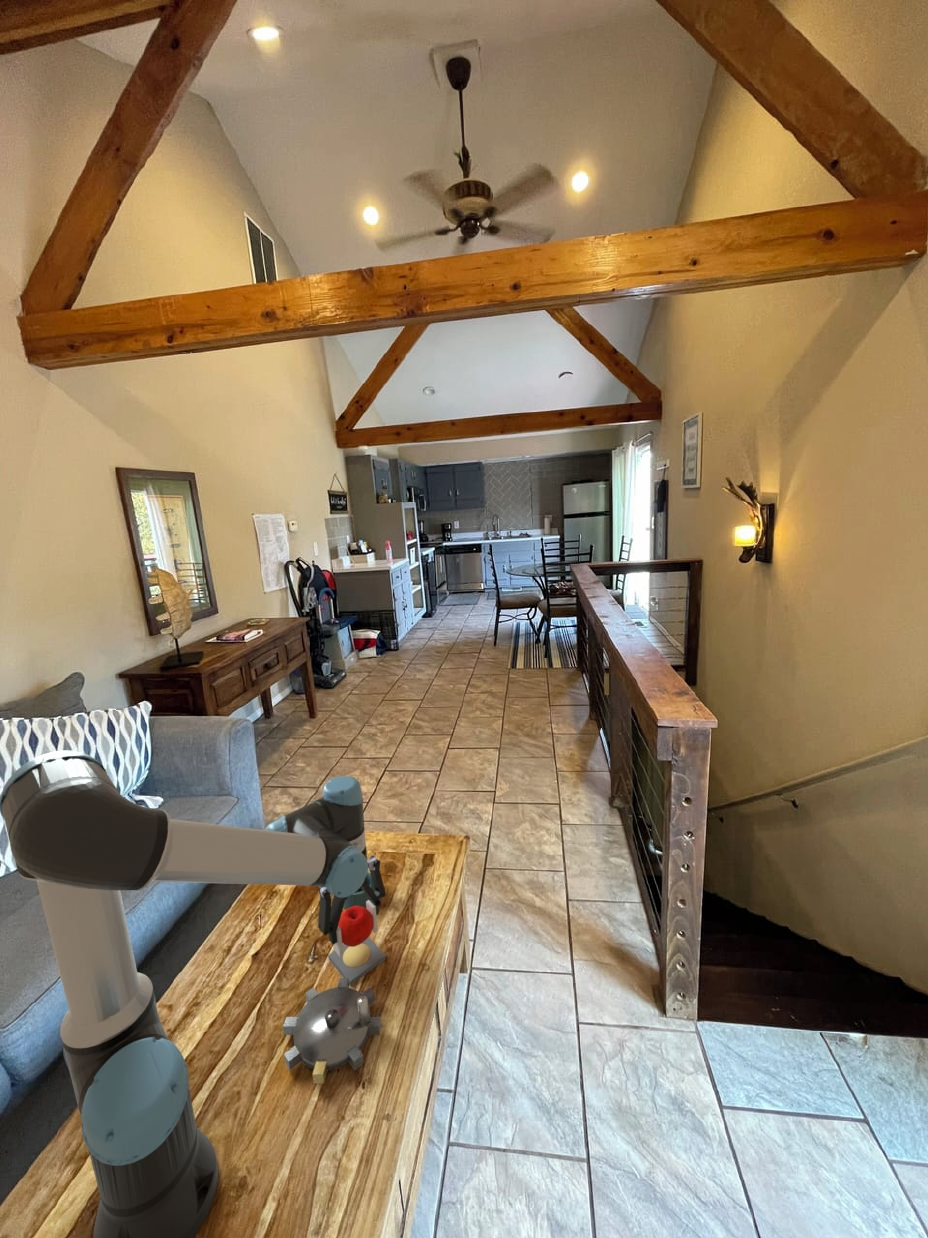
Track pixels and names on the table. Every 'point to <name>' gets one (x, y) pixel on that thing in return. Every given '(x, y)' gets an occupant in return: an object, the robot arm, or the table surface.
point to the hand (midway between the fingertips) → (356, 940)
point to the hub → (331, 1018)
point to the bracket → (359, 895)
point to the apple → (355, 925)
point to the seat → (357, 960)
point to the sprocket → (331, 1030)
